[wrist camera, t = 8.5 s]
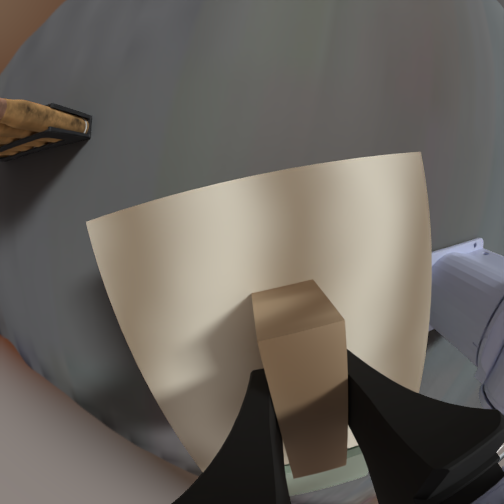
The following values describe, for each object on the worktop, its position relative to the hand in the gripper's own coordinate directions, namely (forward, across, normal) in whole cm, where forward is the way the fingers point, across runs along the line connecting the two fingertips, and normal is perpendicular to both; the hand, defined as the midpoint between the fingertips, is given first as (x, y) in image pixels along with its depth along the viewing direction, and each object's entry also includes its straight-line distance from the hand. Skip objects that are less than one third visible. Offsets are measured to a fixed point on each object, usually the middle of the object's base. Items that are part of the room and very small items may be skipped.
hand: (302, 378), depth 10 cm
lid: (+2, 0, +1) cm, 2 cm away
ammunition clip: (+11, +16, -16) cm, 25 cm away
